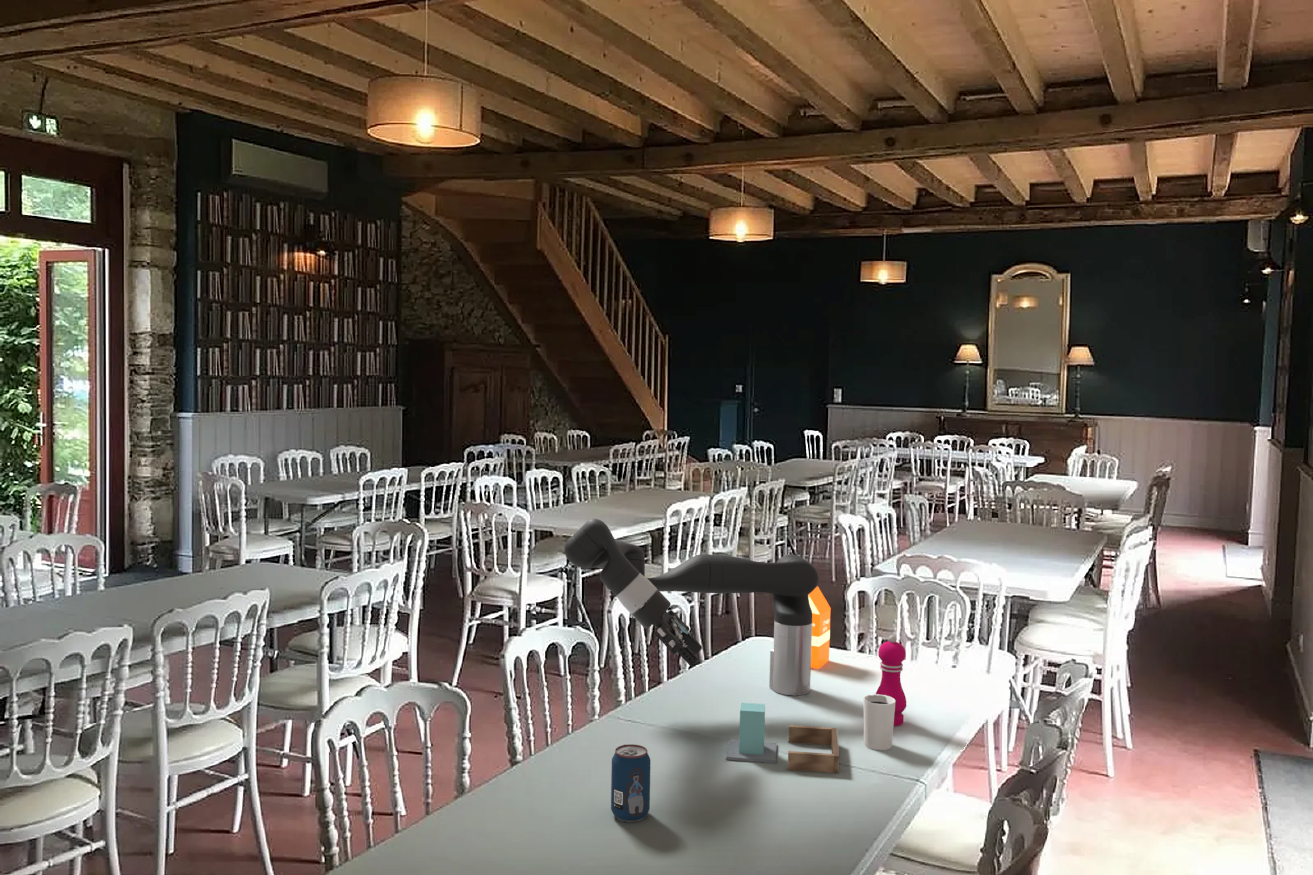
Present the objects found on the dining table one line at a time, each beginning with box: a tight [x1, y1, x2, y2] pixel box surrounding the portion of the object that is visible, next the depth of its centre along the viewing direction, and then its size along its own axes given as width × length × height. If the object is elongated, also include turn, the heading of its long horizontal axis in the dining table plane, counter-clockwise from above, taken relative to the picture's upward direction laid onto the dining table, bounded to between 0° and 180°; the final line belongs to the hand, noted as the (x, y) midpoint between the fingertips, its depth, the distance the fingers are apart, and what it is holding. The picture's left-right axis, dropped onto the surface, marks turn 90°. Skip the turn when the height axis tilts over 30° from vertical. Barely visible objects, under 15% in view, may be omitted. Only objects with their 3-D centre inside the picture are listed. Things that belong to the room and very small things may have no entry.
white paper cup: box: [863, 693, 895, 751], centre depth 228 cm, size 7×7×10 cm
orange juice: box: [808, 586, 832, 670], centre depth 287 cm, size 8×9×20 cm
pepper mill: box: [875, 634, 907, 727], centre depth 242 cm, size 7×7×20 cm
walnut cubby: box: [787, 724, 840, 774], centre depth 221 cm, size 10×16×4 cm, turn 173°
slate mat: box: [725, 739, 777, 764], centre depth 223 cm, size 10×10×1 cm
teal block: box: [738, 702, 766, 755], centre depth 222 cm, size 5×5×9 cm
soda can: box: [610, 744, 651, 823], centre depth 191 cm, size 7×7×12 cm
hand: (697, 657), depth 222 cm, fingers open, 8 cm apart
